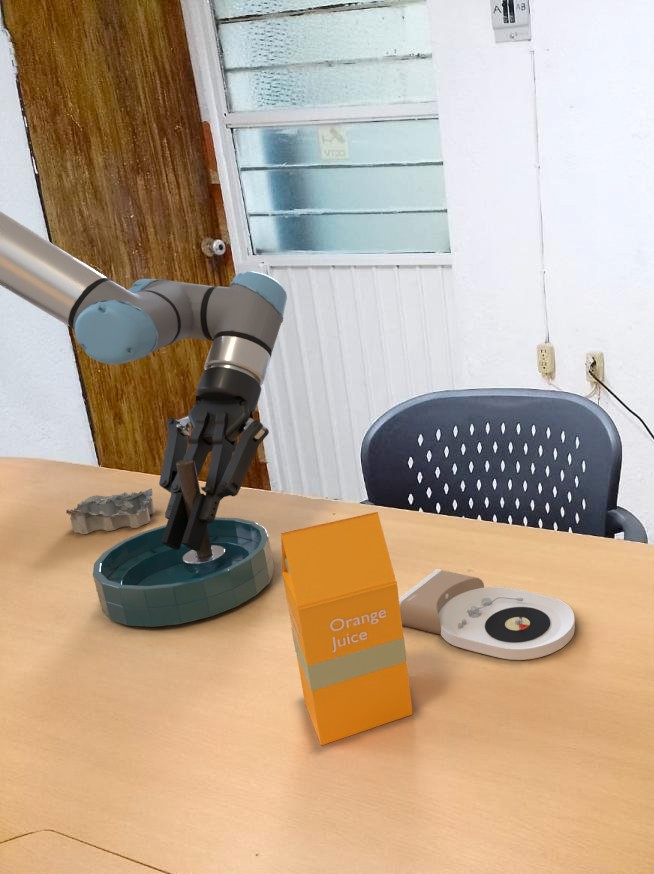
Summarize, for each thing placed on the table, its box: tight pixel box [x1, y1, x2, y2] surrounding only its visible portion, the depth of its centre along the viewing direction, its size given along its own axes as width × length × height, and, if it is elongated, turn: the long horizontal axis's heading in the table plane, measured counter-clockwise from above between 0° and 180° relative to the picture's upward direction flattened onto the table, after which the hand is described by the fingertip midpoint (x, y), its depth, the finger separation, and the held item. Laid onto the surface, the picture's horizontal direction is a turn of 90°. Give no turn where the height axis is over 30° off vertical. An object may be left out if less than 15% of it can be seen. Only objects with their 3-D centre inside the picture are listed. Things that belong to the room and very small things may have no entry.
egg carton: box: [65, 488, 156, 535], centre depth 124 cm, size 11×8×4 cm
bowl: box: [92, 516, 275, 628], centre depth 104 cm, size 20×20×6 cm
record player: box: [398, 568, 576, 661], centre depth 95 cm, size 12×3×20 cm
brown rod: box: [176, 459, 227, 573], centre depth 103 cm, size 5×5×14 cm
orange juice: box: [280, 511, 414, 746], centre depth 78 cm, size 8×9×20 cm
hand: (180, 546), depth 101 cm, fingers closed on brown rod, 2 cm apart
